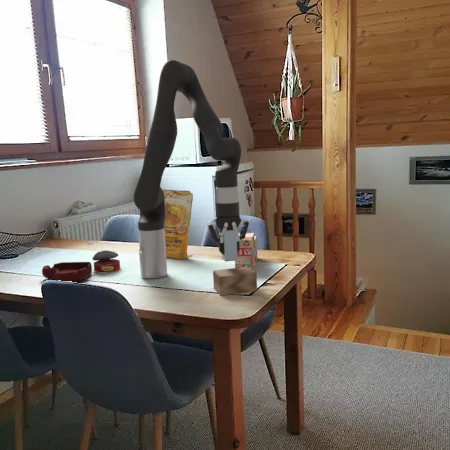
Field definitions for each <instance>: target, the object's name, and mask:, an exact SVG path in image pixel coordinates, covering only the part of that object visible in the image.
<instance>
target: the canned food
mask: <svg viewBox="0 0 450 450" xmlns="http://www.w3.org/2000/svg"><path fill="white" fill-rule="evenodd" d="M117 257H119V254H118V253H117V252H116V251H111V250H100V251H97V252H96V253H95V254H94V255H93V257H92V261H95V262H93V271H94V272H95V271H96V272H95V273H99V272H107V273H112V272H111V271H113V272H117V271H118V270H120V269H121V265H120V264H121V263H120V260H119V259H115V258H117ZM116 270H117V271H116Z"/></svg>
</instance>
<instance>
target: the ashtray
mask: <svg viewBox="0 0 450 450" xmlns="http://www.w3.org/2000/svg"><path fill="white" fill-rule="evenodd" d="M92 265H93V264H92V263H91V261H69V262H68V261H67V262H63V261H61V262H56V263H54V264H53V266H52V267H51V266H50V265H48V264H47V265H44V266H42V269H41V273H42V276H43V277H44V278H45V279H47V280H49V279H54V280H55V279H56V280H55V281H57V280H61V281H72V282H74V283H76V282H77V283H78V282H80V281H82V280H83V279H85V278H88V277H89V276H91V275H92V274H93V273H92V272H93V266H92Z"/></svg>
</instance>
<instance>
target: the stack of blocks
mask: <svg viewBox="0 0 450 450" xmlns="http://www.w3.org/2000/svg"><path fill="white" fill-rule="evenodd" d="M238 235H240V232H238ZM257 239H258V238H257V235H255V232H246V236H245V239H242V240H240V241H239V245H240V250H239V251H238V253H237V260H236V261H234V268H241V267H250V268H251V269H252V270H254V269H255V267H254V266H256V263H257V260H258V243H257V242H258V241H257ZM255 262H256V263H255ZM253 268H254V269H253Z"/></svg>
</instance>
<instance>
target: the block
mask: <svg viewBox="0 0 450 450" xmlns="http://www.w3.org/2000/svg"><path fill="white" fill-rule="evenodd" d="M223 243H224V254H221V259H222V260H223V261H224V262H225V263H226V262H227V263H228V262H235V261H236V260H237V238H236V230H226V231H224V242H223Z"/></svg>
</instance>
